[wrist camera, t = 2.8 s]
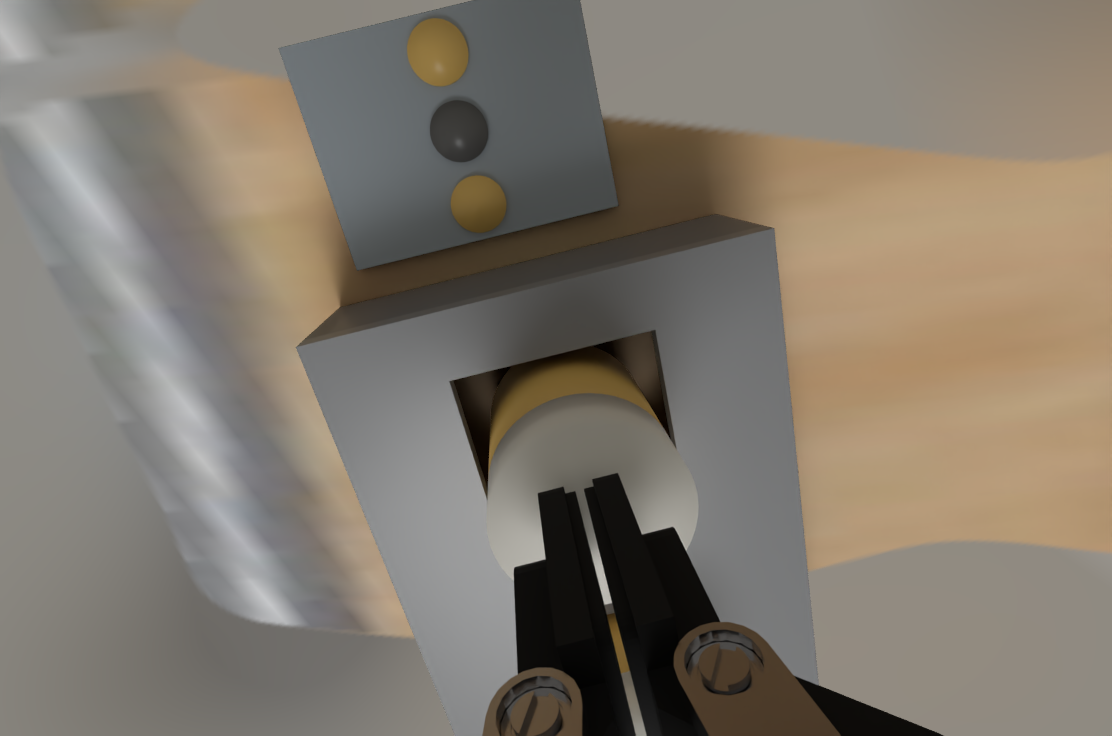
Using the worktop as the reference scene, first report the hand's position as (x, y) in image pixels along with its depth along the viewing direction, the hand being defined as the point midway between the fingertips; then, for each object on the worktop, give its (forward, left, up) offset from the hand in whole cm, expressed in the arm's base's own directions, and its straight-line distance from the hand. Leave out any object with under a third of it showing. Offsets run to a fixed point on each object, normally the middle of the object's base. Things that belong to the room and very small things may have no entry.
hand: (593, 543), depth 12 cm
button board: (0, +9, -8) cm, 12 cm away
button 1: (0, 0, -6) cm, 6 cm away
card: (+1, -8, -8) cm, 12 cm away
